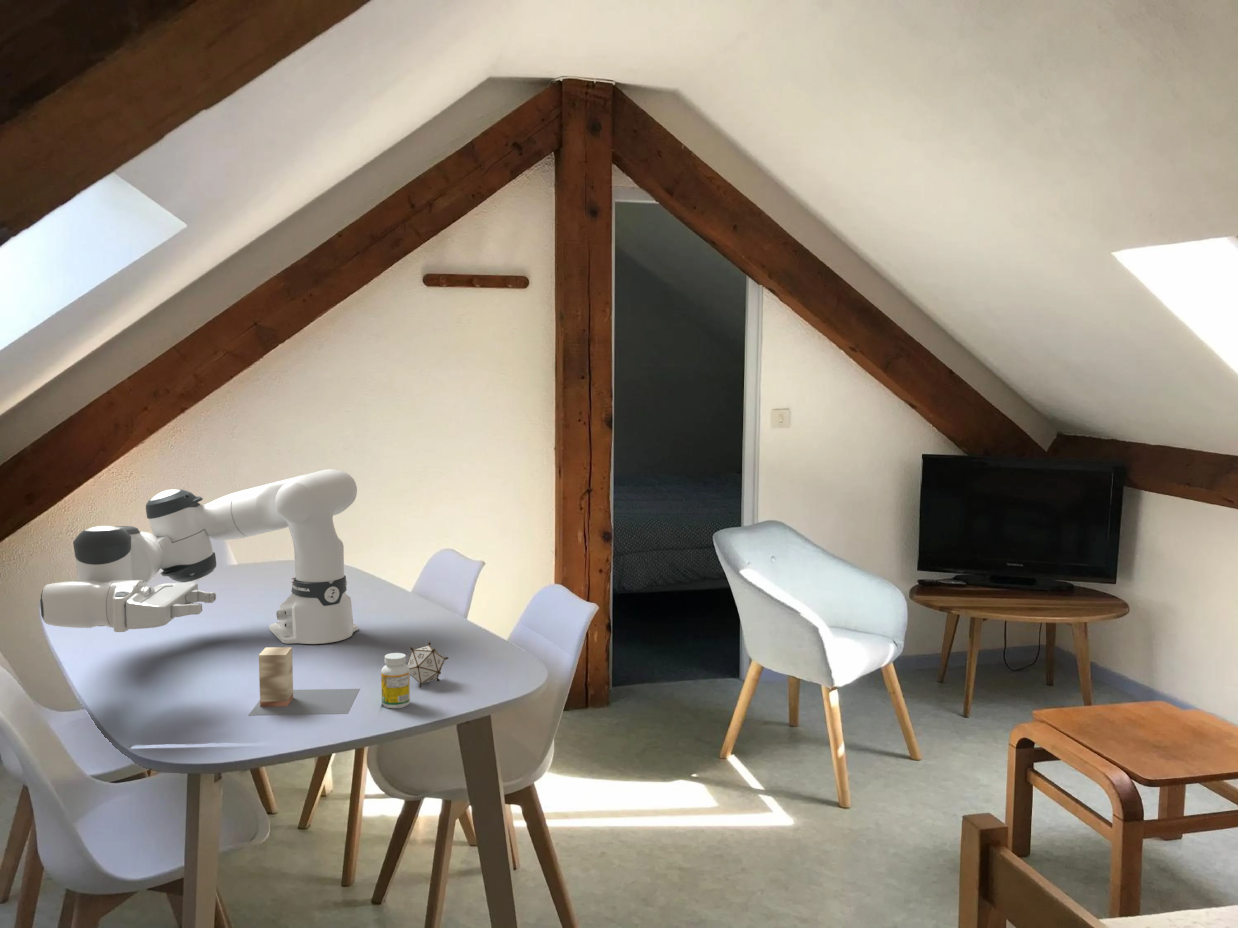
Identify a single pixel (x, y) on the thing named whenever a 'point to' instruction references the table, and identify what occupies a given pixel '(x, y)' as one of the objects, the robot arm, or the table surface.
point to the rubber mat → (312, 703)
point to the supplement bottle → (395, 681)
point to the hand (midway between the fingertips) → (208, 602)
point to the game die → (425, 664)
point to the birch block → (276, 676)
